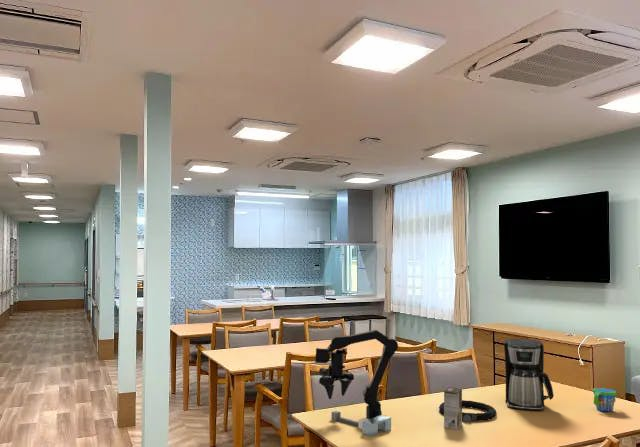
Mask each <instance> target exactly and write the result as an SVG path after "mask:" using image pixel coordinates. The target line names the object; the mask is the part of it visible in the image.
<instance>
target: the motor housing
mask: <svg viewBox="0 0 640 447" xmlns="http://www.w3.org/2000/svg"><path fill="white" fill-rule="evenodd" d="M361 430H362V435H366V436H368V437H374V436H377V435H378V434H379V432H378V431H379V430H380V431H383V432H387V431H390V430H392V417H391V416H387V415H384V414H382V415H380V416H377V417H374V418H371V419H368V420H365V421H363V425H362V429H361Z"/></svg>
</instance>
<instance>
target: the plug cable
mask: <svg viewBox="0 0 640 447" xmlns="http://www.w3.org/2000/svg"><path fill="white" fill-rule="evenodd" d="M341 414H342V413H341V411H339V410H333V411H331V417H330V419H331V421H334V422H340V423H343V424H347V425H351V426H353V425H354V426H353V427H357V428H358V429H361V430H362V425H363V421H365V420H368V419H366V417H364V418H360V419H358V421H356V420H353V419H351V418H345V417H344V416H343V417H342V416H341Z"/></svg>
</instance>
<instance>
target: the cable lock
mask: <svg viewBox="0 0 640 447" xmlns="http://www.w3.org/2000/svg"><path fill="white" fill-rule="evenodd" d="M468 407H472V408H471V409H474V408H477V409H476V410H480V409H481V410H480V411H483V410H484V411H483V412H478V413H476V412H464V411H462V422H464V423H467V422H470V423H472V421H473V422H478V421H479V420H486V421H489V420H488V419H490V420H492V418H493V419H494V418H495V417H496V416H497V414H498V413H497V410H496V409H495V408H494V407H493V406H492V405H489V404H486V403H484V402H479V401H473V400H463V399H462V408H468ZM438 409H439V412H440V413H441V414H443V415H444V401H443V402H442V403H440V404H439V407H438ZM486 411H487V412H486ZM479 422H480V421H479Z"/></svg>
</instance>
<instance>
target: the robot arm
mask: <svg viewBox="0 0 640 447" xmlns="http://www.w3.org/2000/svg"><path fill="white" fill-rule="evenodd" d="M373 340H376V341H378V342H379V343H381V344H382V345H383V346H382V353H381V356H380V359H379V362H378V364H377V366H376V369H375V371H374V373H373V375H372V379H371V381H370V383H369V384H365V386H364V389H363V390H362V397H363V400H364V403H365V404H366V409H365V410H366V412H365V416H366V417H365V418H366V419H371V418H374V417H377V416H380V415H383V413H382V405H381V402H380V400H379V399H378V394H379V387H380V384H381V383H382V380H383V377H384V376H385V372H386V369H387V367H388V364H389V363H390V360H391V358H392V357H393V356H394V355H395V353H396V352H397V350H398V348H399V343H398V341H397V340H396V339H395V338H393V337H390V336H389V337H388V336H386V335H385V334H384V333H382V332H380V331H379V330H378V329H373V330H369V331H365V332H364V331H363V332H361V333H356V334H349V335H341V334H340V335H337V334H336V335H334V336H332V338H331V340H330V344H329V345H328V346H327V348H320V347H316V348H315V359H314V360H315V361H314V362H315V364H328V362H330V365H328V368H325V367H321V368H319V370H318V372H319V375H320V378H318V379H319V380H318V382H319V384H321V386H323V387H324V389H325V391H326V393H327V394H326V395H327V397H328V399H329V400H331V399H332V397H333V394H334V393H333V392H334V389H335V385H334V383H335V382H337V381H339V383H340V387H341V388H340V389H341V390H340V392H341V396H343V397H344V396H345V394H346V392H347V391H348V388H349V386H350V385H351V383H352V382H353V381H354V379H355V375H354V374H353V373H352V372H348V371H347V372H346V371H344V369H345V368H346V365H344V355H347V354H348V351H347V350H346V349H345V348H346V347H348V346H350V345H353V344H359V343H362V342H368V341H373Z"/></svg>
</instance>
